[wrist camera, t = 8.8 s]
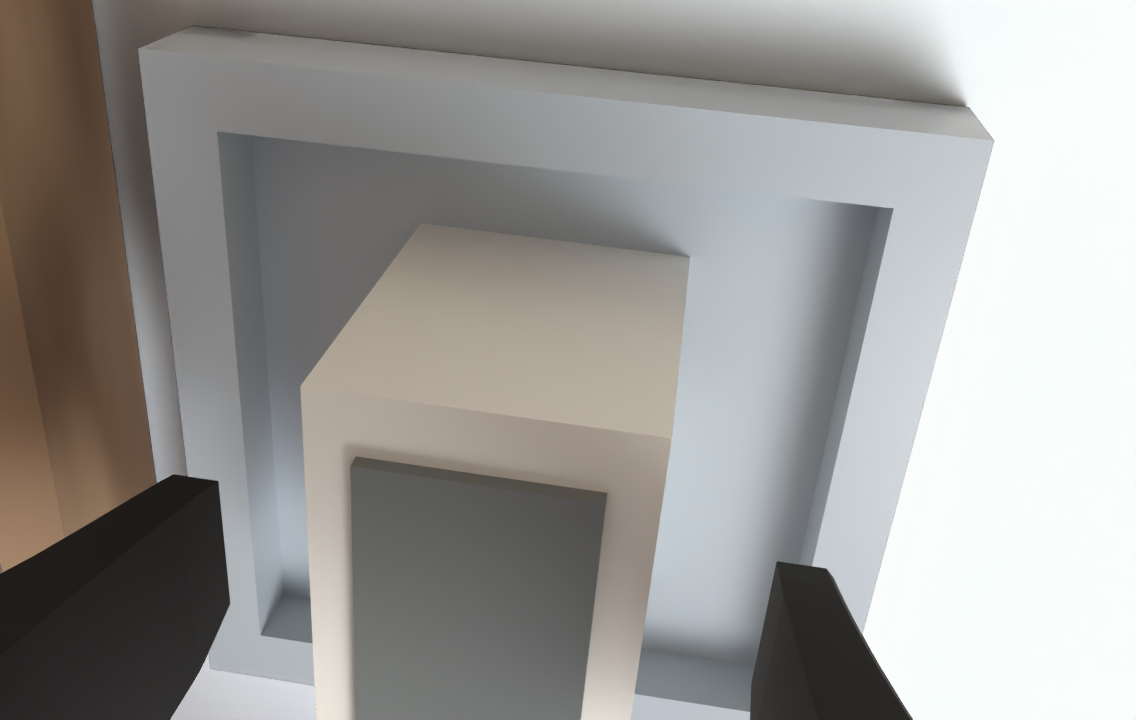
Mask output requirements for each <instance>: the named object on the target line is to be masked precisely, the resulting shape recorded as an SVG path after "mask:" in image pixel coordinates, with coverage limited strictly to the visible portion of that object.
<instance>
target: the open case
mask: <svg viewBox="0 0 1136 720" xmlns="http://www.w3.org/2000/svg"><path fill="white" fill-rule="evenodd" d="M155 484H156V476H155V469H154V461H153V454H152V447H151V439H150V432H149V424H148V417H147V409H146V402H145V394H144V387H143V380H142V372H141V365H140V357H139V350H138V342H137V335H136V328H135V320H134V313H133V305H132V298H131V290H130V283H129V275H128V268H127V261H126V253H125V246H124V238H123V231H122V223H121V216H120V208H119V201H118V194H117V186H116V179H115V171H114V164H113V156H112V149H111V142H110V134H109V127H108V119H107V112H106V104H105V97H104V89H103V82H102V75H101V67H100V60H99V52H98V45H97V37H96V30H95V22H94V15H93V8H92V0H0V564H1V568H2V573H3V572H4V571H6V570H8V569H10V568H12V567H14V566H16V565H17V564H19V563H21V562H23V561H25V560H27V559H29V558H31V557H32V556H34V555H36V554H38V553H39V552H41V551H43V550H45V549H46V548H48V547H50V546H51V545H53V544H55V543H57V542H58V541H60V540H62V539H63V538H65V537H67V536H69V535H70V534H72V533H74V532H75V531H77V530H79V529H80V528H82V527H84V526H86V525H87V524H89V523H91V522H92V521H94V520H96V519H97V518H99V517H101V516H102V515H104V514H106V513H107V512H109V511H111V510H112V509H114V508H116V507H117V506H119V505H121V504H122V503H124V502H126V501H127V500H129V499H131V498H133V497H134V496H136V495H138V494H139V493H141V492H143V491H144V490H146V489H148V488H150V487H151V486H153V485H155Z"/></svg>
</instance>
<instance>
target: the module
mask: <svg viewBox="0 0 1136 720" xmlns="http://www.w3.org/2000/svg"><path fill="white" fill-rule="evenodd" d="M689 263H690V257H686V256H678V255H670V254H662V253H654V252H646V251H638V250H630V249H622V248H614V247H606V246H598V245H590V244H582V243H574V242H566V241H558V240H550V239H542V238H534V237H527V236H519V235H511V234H503V233H495V232H487V231H479V230H471V229H463V228H455V227H447V226H439V225H431V224H423V223H421V224H420V225H419V227H418V228H417V229H416V231H415V232H414V233H413V235H412V236H411V237H410V239H409V240H408V241H407V243H406V244H405V245H404V247H403V248H402V250H401V251H400V252H399V254H398V255H397V256H396V258H395V259H394V260H393V262H392V263H391V264H390V266H389V267H388V268H387V270H386V271H385V272H384V274H383V275H382V277H381V278H380V279H379V281H378V282H377V283H376V285H375V286H374V287H373V289H372V290H371V291H370V293H369V294H368V295H367V297H366V298H365V300H364V301H363V302H362V304H361V305H360V306H359V308H358V309H357V310H356V312H355V313H354V314H353V316H352V317H351V318H350V320H349V321H348V323H347V324H346V325H345V327H344V328H343V329H342V331H341V332H340V333H339V335H338V336H337V337H336V339H335V340H334V341H333V343H332V344H331V346H330V347H329V348H328V350H327V351H326V352H325V354H324V355H323V356H322V358H321V359H320V360H319V362H318V363H317V364H316V366H315V367H314V369H313V370H312V371H311V373H310V374H309V375H308V377H307V378H306V379H305V381H304V382H303V383H302V385H301V386H300V388H301V409H302V430H303V452H304V473H305V494H306V515H307V536H308V557H309V578H310V599H311V620H312V642H313V663H314V684H315V705H316V720H631V714H632V707H633V700H634V694H635V687H636V680H637V673H638V666H639V660H640V653H641V646H642V639H643V632H644V626H645V619H646V612H647V605H648V598H649V592H650V585H651V578H652V571H653V564H654V558H655V551H656V544H657V537H658V530H659V524H660V517H661V510H662V503H663V496H664V490H665V483H666V476H667V469H668V462H669V456H670V449H671V442H672V434H673V424H674V414H675V404H676V393H677V383H678V373H679V363H680V353H681V343H682V333H683V323H684V313H685V303H686V293H687V283H688V273H689Z"/></svg>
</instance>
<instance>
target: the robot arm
mask: <svg viewBox="0 0 1136 720" xmlns="http://www.w3.org/2000/svg"><path fill="white" fill-rule="evenodd" d="M229 606H230V595H229V584H228V574H227V564H226V554H225V544H224V533H223V523H222V513H221V503H220V493H219V483H218V481H216V480H209V479H202V478H195V477H188V476H181V475H172V476H170V477H168V478H166V479H164V480H162V481H160V482H159V483H157V484H155V485H153V486H151V487H150V488H148V489H146V490H144V491H143V492H141V493H139V494H138V495H136V496H134V497H133V498H131V499H129V500H127V501H126V502H124V503H122V504H121V505H119V506H117V507H116V508H114V509H112V510H111V511H109V512H107V513H106V514H104V515H102V516H101V517H99V518H97V519H96V520H94V521H92V522H91V523H89V524H87V525H86V526H84V527H82V528H80V529H79V530H77V531H75V532H74V533H72V534H70V535H69V536H67V537H65V538H63V539H62V540H60V541H58V542H57V543H55V544H53V545H51V546H50V547H48V548H46V549H45V550H43V551H41V552H39V553H38V554H36V555H34V556H32V557H31V558H29V559H27V560H25V561H23V562H21V563H19V564H17V565H16V566H14V567H12V568H10V569H8V570H6V571H4V572H3V573H1V574H0V720H170V719H171V717H172V715H173V714H174V712H175V711H176V709H177V707H178V706H179V704H180V703H181V701H182V699H183V698H184V696H185V694H186V693H187V691H188V690H189V688H190V686H191V685H192V683H193V681H194V680H195V678H196V676H197V675H198V673H199V671H200V669H201V667H202V665H203V663H204V661H205V659H206V657H207V655H208V653H209V650H210V648H211V646H212V644H213V642H214V640H215V638H216V635H217V633H218V631H219V628H220V626H221V624H222V622H223V619H224V617H225V615H226V612H227V610H228V608H229ZM750 720H913V719H912V717H911V716H910V714H909V713H908V711H907V710H906V708H905V706H904V705H903V703H902V702H901V700H900V698H899V697H898V695H897V693H896V692H895V690H894V689H893V687H892V685H891V684H890V682H889V680H888V679H887V677H886V675H885V674H884V672H883V671H882V669H881V667H880V666H879V664H878V662H877V660H876V659H875V657H874V655H873V653H872V652H871V650H870V648H869V646H868V644H867V643H866V641H865V639H864V637H863V635H862V633H861V632H860V630H859V628H858V626H857V624H856V622H855V620H854V618H853V616H852V614H851V613H850V611H849V609H848V607H847V605H846V603H845V601H844V599H843V596H842V594H841V592H840V590H839V588H838V586H837V584H836V582H835V580H834V577H833V576H832V575H831V574H830V572H829V571H828V570H827V568H820V567H813V566H806V565H800V564H793V563H786V562H779V561H777V562H776V567H775V572H774V576H773V581H772V586H771V591H770V596H769V601H768V605H767V610H766V615H765V620H764V625H763V630H762V634H761V639H760V644H759V649H758V654H757V658H756V663H755V668H754V673H753V678H752V683H751V705H750Z"/></svg>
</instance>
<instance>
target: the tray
mask: <svg viewBox="0 0 1136 720" xmlns="http://www.w3.org/2000/svg"><path fill="white" fill-rule="evenodd" d="M138 55H139V64H140V72H141V81H142V89H143V98H144V106H145V115H146V123H147V132H148V141H149V149H150V158H151V166H152V175H153V183H154V192H155V200H156V209H157V217H158V226H159V234H160V243H161V252H162V260H163V269H164V277H165V286H166V294H167V303H168V311H169V320H170V328H171V337H172V345H173V354H174V363H175V371H176V380H177V388H178V397H179V405H180V414H181V422H182V431H183V439H184V448H185V457H186V465H187V474H188V477H195V478H202V479H209V480H216V481H218V483H219V493H220V503H221V513H222V523H223V533H224V544H225V554H226V564H227V574H228V584H229V595H230V606H229V608H228V610H227V612H226V615H225V617H224V619H223V622H222V624H221V626H220V628H219V631H218V633H217V635H216V638H215V640H214V642H213V644H212V646H211V648H210V650H209V662H210V669H213V670H220V671H226V672H232V673H238V674H245V675H251V676H257V677H263V678H270V679H276V680H282V681H288V682H295V683H301V684H307V685H313V686H315V684H314V663H313V642H312V620H311V599H310V578H309V557H308V536H307V515H306V494H305V473H304V452H303V430H302V409H301V388H300V386H301V385H302V383H303V382H304V381H305V379H306V378H307V377H308V375H309V374H310V373H311V371H312V370H313V369H314V367H315V366H316V364H317V363H318V362H319V360H320V359H321V358H322V356H323V355H324V354H325V352H326V351H327V350H328V348H329V347H330V346H331V344H332V343H333V341H334V340H335V339H336V337H337V336H338V335H339V333H340V332H341V331H342V329H343V328H344V327H345V325H346V324H347V323H348V321H349V320H350V318H351V317H352V316H353V314H354V313H355V312H356V310H357V309H358V308H359V306H360V305H361V304H362V302H363V301H364V300H365V298H366V297H367V295H368V294H369V293H370V291H371V290H372V289H373V287H374V286H375V285H376V283H377V282H378V281H379V279H380V278H381V277H382V275H383V274H384V272H385V271H386V270H387V268H388V267H389V266H390V264H391V263H392V262H393V260H394V259H395V258H396V256H397V255H398V254H399V252H400V251H401V250H402V248H403V247H404V245H405V244H406V243H407V241H408V240H409V239H410V237H411V236H412V235H413V233H414V232H415V231H416V229H417V228H418V227H419V225H420V224H421V223H423V224H431V225H439V226H447V227H455V228H463V229H471V230H479V231H487V232H495V233H503V234H511V235H519V236H527V237H534V238H542V239H550V240H558V241H566V242H574V243H582V244H590V245H598V246H606V247H614V248H622V249H630V250H638V251H646V252H654V253H662V254H670V255H678V256H686V257H690V263H689V273H688V283H687V293H686V303H685V313H684V323H683V333H682V343H681V353H680V363H679V373H678V383H677V393H676V404H675V414H674V424H673V434H672V442H671V449H670V456H669V462H668V469H667V476H666V483H665V490H664V496H663V503H662V510H661V517H660V524H659V530H658V537H657V544H656V551H655V558H654V564H653V571H652V578H651V585H650V592H649V598H648V605H647V612H646V619H645V626H644V632H643V639H642V646H641V653H640V660H639V666H638V673H637V680H636V687H635V694H634V700H633V707H632V714H631V720H750V705H751V683H752V678H753V673H754V668H755V663H756V658H757V654H758V649H759V644H760V639H761V634H762V630H763V625H764V620H765V615H766V610H767V605H768V601H769V596H770V591H771V586H772V581H773V576H774V572H775V567H776V562H777V561H779V562H786V563H793V564H800V565H806V566H813V567H820V568H827V570H828V571H829V572H830V574H831V575H832V576H833V577H834V580H835V582H836V584H837V586H838V588H839V590H840V592H841V594H842V596H843V599H844V601H845V603H846V605H847V607H848V609H849V611H850V613H851V614H852V616H853V618H854V620H855V622H856V624H857V626H858V628H859V630H860V632H861V633H862V634H863V630H864V626H865V623H866V619H867V615H868V611H869V608H870V604H871V600H872V596H873V593H874V589H875V585H876V581H877V578H878V574H879V570H880V567H881V563H882V559H883V555H884V552H885V548H886V544H887V540H888V537H889V533H890V529H891V525H892V522H893V518H894V514H895V510H896V507H897V503H898V499H899V495H900V492H901V488H902V484H903V480H904V477H905V473H906V469H907V465H908V462H909V458H910V454H911V451H912V447H913V443H914V439H915V436H916V432H917V428H918V424H919V421H920V417H921V413H922V409H923V406H924V402H925V398H926V394H927V391H928V387H929V383H930V379H931V376H932V372H933V368H934V364H935V361H936V357H937V353H938V350H939V346H940V342H941V338H942V335H943V331H944V327H945V323H946V320H947V316H948V312H949V308H950V305H951V301H952V297H953V293H954V290H955V286H956V282H957V278H958V275H959V271H960V267H961V263H962V260H963V256H964V252H965V248H966V245H967V241H968V237H969V234H970V230H971V226H972V222H973V219H974V215H975V211H976V207H977V204H978V200H979V196H980V192H981V189H982V185H983V181H984V177H985V174H986V170H987V166H988V162H989V159H990V155H991V151H992V147H993V144H994V140H993V138H992V137H991V136H990V134H989V133H988V132H987V130H986V129H985V128H984V126H983V125H982V124H981V122H980V121H979V120H978V118H977V117H976V116H975V114H974V113H973V112H972V110H971V109H970V108H969V107H960V106H951V105H941V104H932V103H922V102H913V101H903V100H894V99H884V98H875V97H865V96H856V95H846V94H837V93H827V92H818V91H808V90H799V89H789V88H780V87H770V86H761V85H751V84H742V83H732V82H723V81H713V80H704V79H694V78H685V77H675V76H665V75H656V74H646V73H637V72H627V71H618V70H608V69H599V68H589V67H580V66H570V65H561V64H551V63H542V62H532V61H523V60H513V59H504V58H494V57H485V56H475V55H466V54H456V53H447V52H437V51H428V50H418V49H409V48H399V47H390V46H380V45H371V44H361V43H352V42H342V41H332V40H323V39H313V38H304V37H294V36H285V35H275V34H266V33H256V32H247V31H237V30H228V29H218V28H209V27H199V26H190V27H188V28H185V29H183V30H181V31H178V32H176V33H174V34H171V35H169V36H166V37H164V38H162V39H159V40H157V41H155V42H152V43H150V44H147V45H145V46H143V47H140V48H138Z"/></svg>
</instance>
